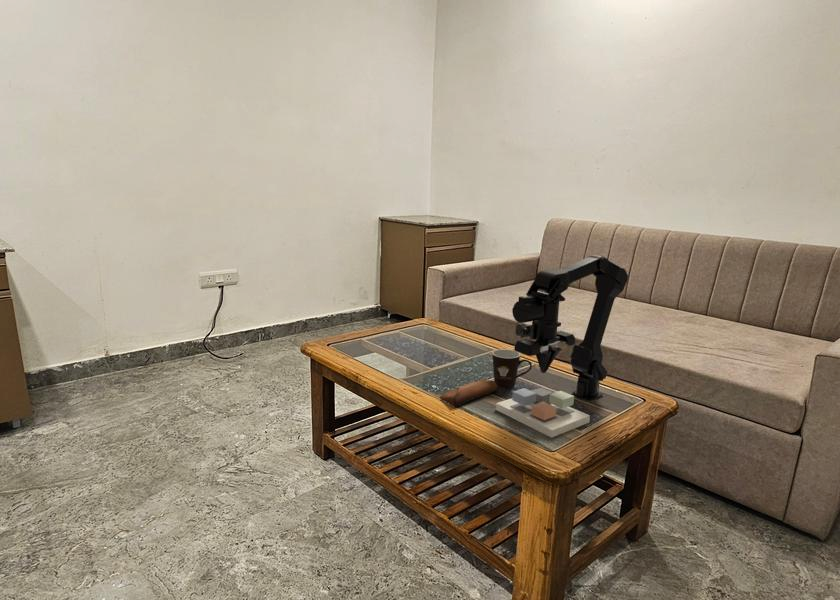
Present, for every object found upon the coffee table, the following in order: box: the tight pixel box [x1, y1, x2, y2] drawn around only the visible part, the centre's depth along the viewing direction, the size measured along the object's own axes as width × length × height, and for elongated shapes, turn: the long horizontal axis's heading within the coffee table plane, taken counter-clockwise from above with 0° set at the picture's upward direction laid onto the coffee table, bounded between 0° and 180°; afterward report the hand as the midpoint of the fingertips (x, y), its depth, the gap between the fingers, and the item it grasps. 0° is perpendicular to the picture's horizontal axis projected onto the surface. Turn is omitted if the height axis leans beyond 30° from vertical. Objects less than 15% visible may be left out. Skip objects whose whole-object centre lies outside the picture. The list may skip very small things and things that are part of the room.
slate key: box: [511, 387, 536, 406], centre depth 150 cm, size 4×4×2 cm
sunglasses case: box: [438, 379, 499, 408], centre depth 163 cm, size 18×7×7 cm, turn 132°
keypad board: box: [495, 398, 591, 439], centre depth 151 cm, size 15×20×2 cm
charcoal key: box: [531, 387, 554, 403], centre depth 155 cm, size 4×4×2 cm
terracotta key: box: [531, 402, 556, 420], centre depth 145 cm, size 4×4×2 cm
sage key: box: [549, 390, 575, 409], centre depth 149 cm, size 4×4×2 cm
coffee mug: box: [491, 348, 533, 389], centre depth 171 cm, size 12×9×10 cm
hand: (543, 372), depth 153 cm, fingers closed
